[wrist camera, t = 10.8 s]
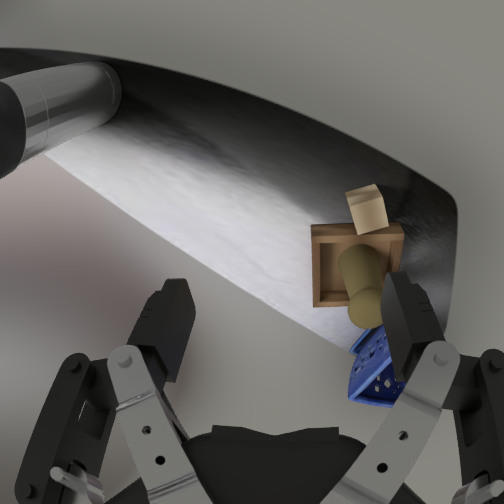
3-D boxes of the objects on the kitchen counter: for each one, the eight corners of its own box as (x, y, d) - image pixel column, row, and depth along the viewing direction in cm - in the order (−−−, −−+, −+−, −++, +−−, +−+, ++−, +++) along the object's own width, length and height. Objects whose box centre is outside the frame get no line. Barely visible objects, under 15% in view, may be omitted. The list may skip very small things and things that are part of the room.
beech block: (352, 219, 39) (357, 234, 36) (345, 192, 37) (349, 206, 34) (381, 210, 38) (388, 226, 34) (374, 183, 36) (382, 196, 33)
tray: (312, 293, 47) (313, 307, 44) (310, 224, 40) (311, 236, 38) (388, 290, 45) (392, 303, 42) (398, 221, 38) (404, 233, 36)
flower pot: (340, 346, 53) (344, 402, 43) (379, 296, 46) (393, 356, 36) (396, 359, 54) (406, 410, 44) (438, 315, 46) (457, 369, 37)
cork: (384, 247, 40) (404, 302, 31) (372, 281, 43) (385, 338, 34) (343, 241, 40) (353, 297, 31) (333, 276, 44) (339, 334, 35)
